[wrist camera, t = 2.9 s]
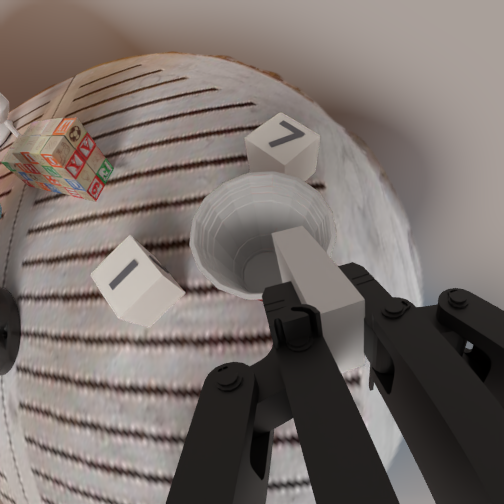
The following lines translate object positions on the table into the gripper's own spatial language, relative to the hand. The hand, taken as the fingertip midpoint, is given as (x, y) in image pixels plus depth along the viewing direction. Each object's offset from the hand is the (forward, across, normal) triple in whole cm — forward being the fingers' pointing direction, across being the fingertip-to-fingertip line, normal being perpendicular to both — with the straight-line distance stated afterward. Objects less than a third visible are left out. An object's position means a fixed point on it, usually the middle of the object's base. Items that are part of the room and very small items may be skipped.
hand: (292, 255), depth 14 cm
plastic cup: (+16, -1, -9) cm, 18 cm away
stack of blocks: (+34, -30, +8) cm, 46 cm away
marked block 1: (+17, -14, -8) cm, 23 cm away
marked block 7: (+25, +5, 0) cm, 25 cm away
